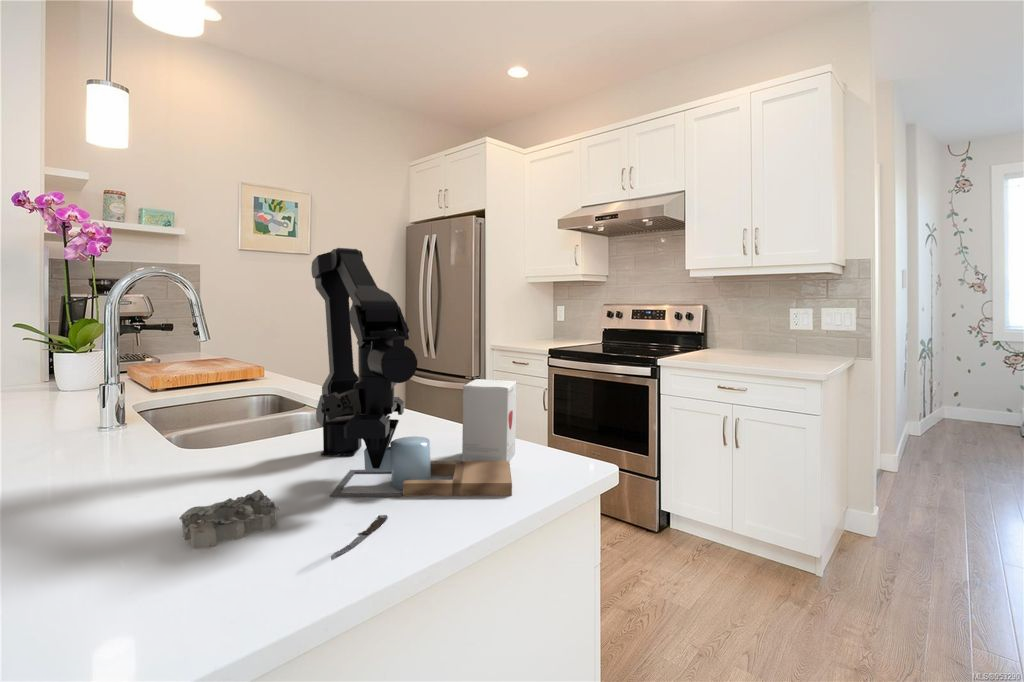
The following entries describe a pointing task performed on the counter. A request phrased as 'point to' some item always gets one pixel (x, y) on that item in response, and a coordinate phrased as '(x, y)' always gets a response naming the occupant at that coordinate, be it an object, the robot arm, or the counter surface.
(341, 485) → the frame
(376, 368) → the robot arm
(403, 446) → the jug
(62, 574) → the counter surface
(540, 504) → the counter surface
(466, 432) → the supplement box
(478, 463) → the cradle
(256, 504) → the egg carton
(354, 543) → the knife
